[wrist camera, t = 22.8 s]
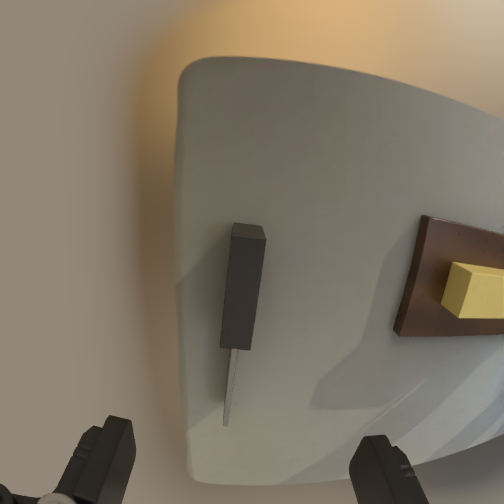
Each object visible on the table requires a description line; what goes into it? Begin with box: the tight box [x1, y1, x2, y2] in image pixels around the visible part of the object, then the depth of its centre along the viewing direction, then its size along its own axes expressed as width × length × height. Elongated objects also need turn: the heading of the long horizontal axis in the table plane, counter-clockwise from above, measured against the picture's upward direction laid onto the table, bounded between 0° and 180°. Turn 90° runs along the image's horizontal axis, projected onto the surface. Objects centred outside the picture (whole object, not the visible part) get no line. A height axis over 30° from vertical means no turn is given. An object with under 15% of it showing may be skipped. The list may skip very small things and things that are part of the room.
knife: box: [220, 223, 266, 426], centre depth 27 cm, size 19×2×5 cm, turn 173°
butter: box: [441, 262, 504, 318], centre depth 26 cm, size 4×10×4 cm, turn 83°
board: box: [393, 215, 504, 337], centre depth 28 cm, size 12×22×2 cm, turn 83°
